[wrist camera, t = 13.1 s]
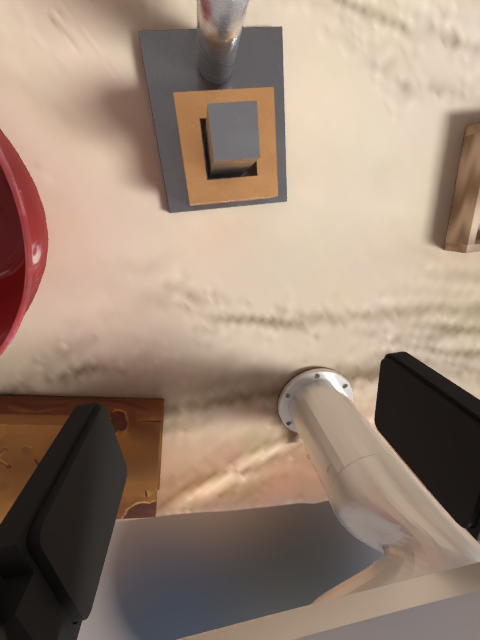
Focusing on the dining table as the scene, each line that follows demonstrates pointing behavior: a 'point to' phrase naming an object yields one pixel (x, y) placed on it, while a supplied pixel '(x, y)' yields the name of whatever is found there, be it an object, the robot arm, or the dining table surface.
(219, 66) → the grey stepped fixture
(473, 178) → the wooden tray
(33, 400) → the diary
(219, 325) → the dining table surface
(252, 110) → the grey rectangular block
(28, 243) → the mixing bowl
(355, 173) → the dining table surface
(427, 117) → the dining table surface
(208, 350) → the dining table surface
